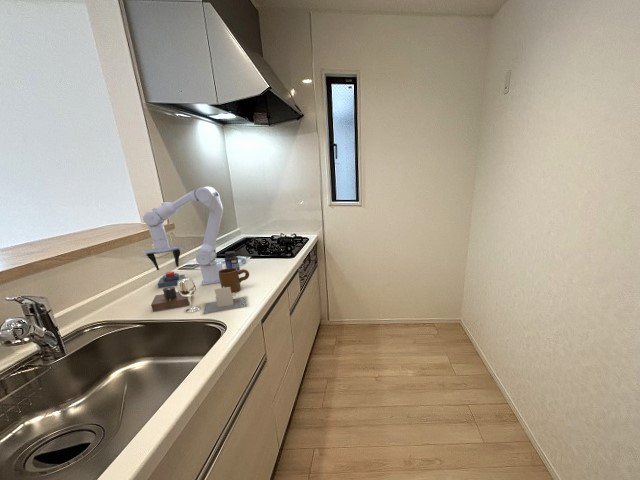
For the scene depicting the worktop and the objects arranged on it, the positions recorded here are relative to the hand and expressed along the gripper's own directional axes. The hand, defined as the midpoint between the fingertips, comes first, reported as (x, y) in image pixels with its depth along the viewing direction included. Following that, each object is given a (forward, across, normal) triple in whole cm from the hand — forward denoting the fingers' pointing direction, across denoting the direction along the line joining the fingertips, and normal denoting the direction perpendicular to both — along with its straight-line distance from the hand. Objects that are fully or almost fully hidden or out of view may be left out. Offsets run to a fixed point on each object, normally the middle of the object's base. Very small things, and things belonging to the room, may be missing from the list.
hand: (167, 267), depth 145 cm
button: (+5, 0, +2) cm, 5 cm away
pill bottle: (+8, +27, -2) cm, 29 cm away
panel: (+8, -4, -27) cm, 29 cm away
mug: (+8, +20, -30) cm, 37 cm away
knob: (+5, -4, -27) cm, 28 cm away
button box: (+8, 0, +2) cm, 9 cm away
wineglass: (+8, 0, -40) cm, 41 cm away
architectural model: (+8, +11, -44) cm, 46 cm away
